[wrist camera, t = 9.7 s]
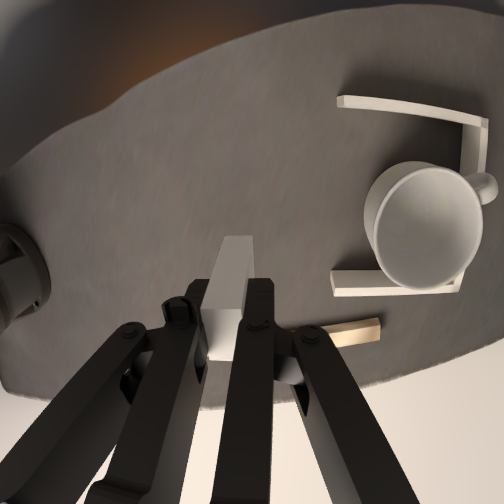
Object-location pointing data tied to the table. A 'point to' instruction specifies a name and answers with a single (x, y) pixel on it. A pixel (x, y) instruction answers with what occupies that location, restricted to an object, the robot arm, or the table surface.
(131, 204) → the table surface
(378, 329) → the birch bar
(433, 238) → the teacup
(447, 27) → the table surface
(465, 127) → the tray
